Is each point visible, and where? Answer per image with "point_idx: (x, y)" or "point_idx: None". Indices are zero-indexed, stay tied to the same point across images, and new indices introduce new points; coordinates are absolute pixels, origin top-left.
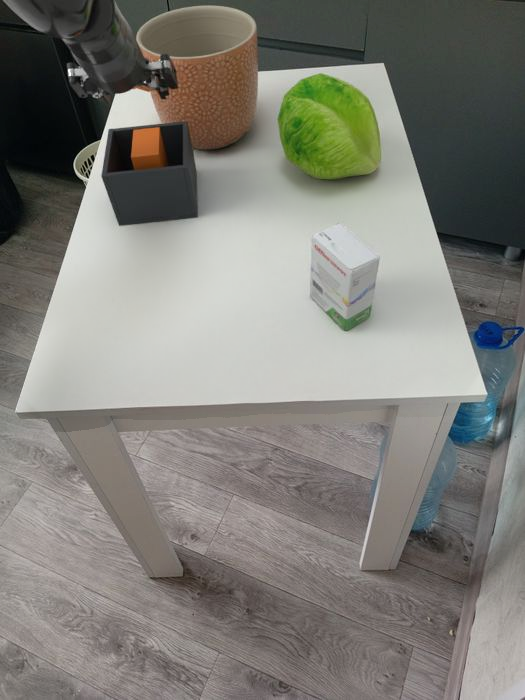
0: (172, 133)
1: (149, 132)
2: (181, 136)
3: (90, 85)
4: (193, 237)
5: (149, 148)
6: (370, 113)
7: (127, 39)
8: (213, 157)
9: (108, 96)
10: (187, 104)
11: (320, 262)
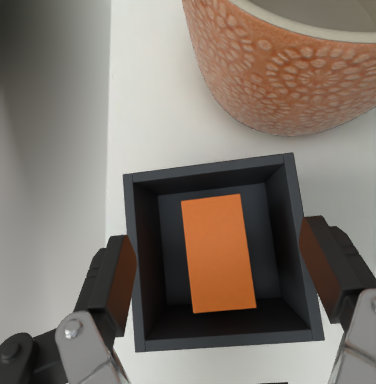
0: (254, 171)
1: (219, 214)
2: (270, 170)
3: (64, 372)
4: (287, 352)
5: (230, 281)
6: None
7: None
8: (294, 140)
9: (130, 259)
10: (298, 112)
11: None
